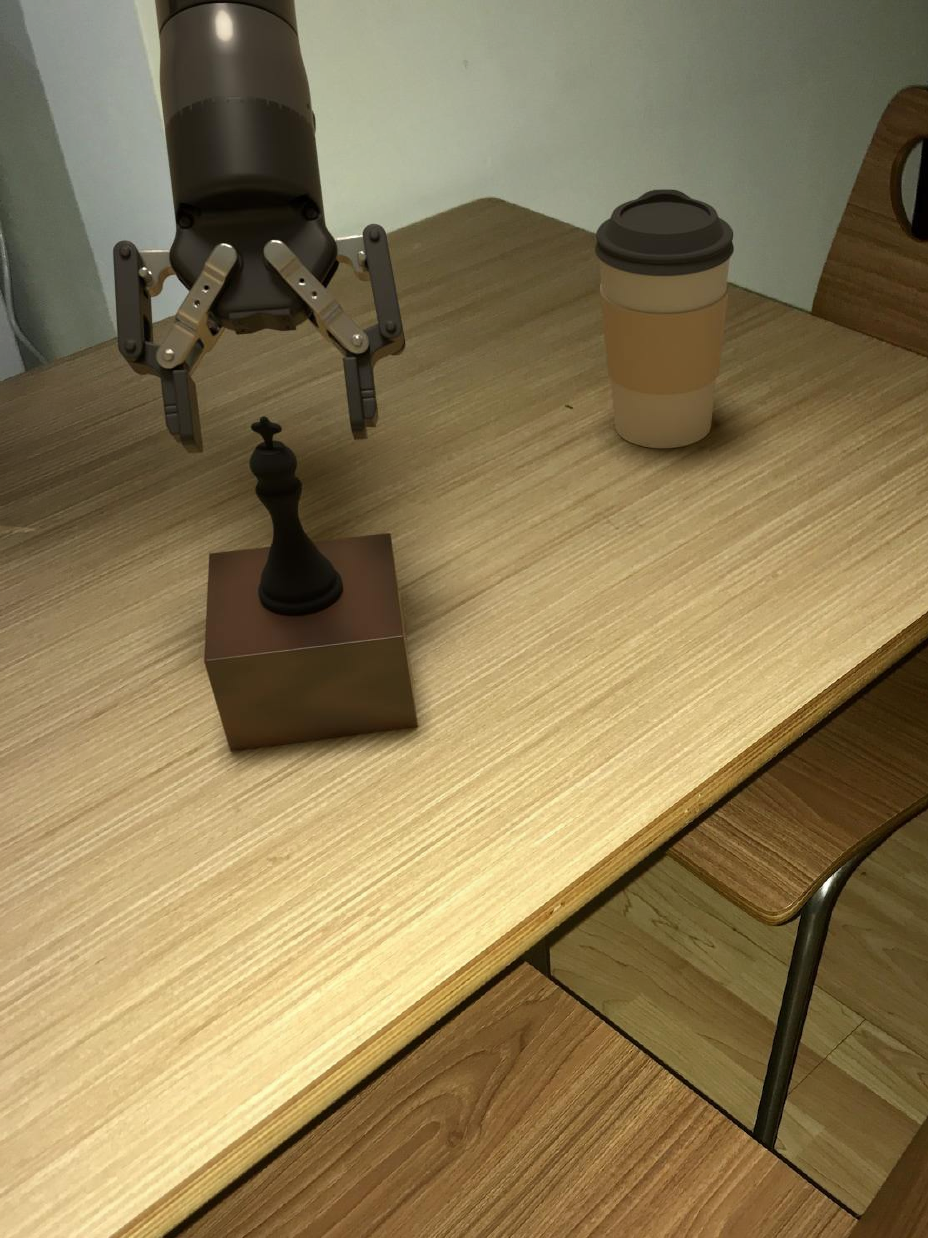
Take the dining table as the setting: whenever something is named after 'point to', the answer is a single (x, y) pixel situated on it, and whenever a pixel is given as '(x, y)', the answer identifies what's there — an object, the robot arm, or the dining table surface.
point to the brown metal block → (309, 650)
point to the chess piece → (288, 534)
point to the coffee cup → (664, 314)
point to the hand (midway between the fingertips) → (277, 442)
